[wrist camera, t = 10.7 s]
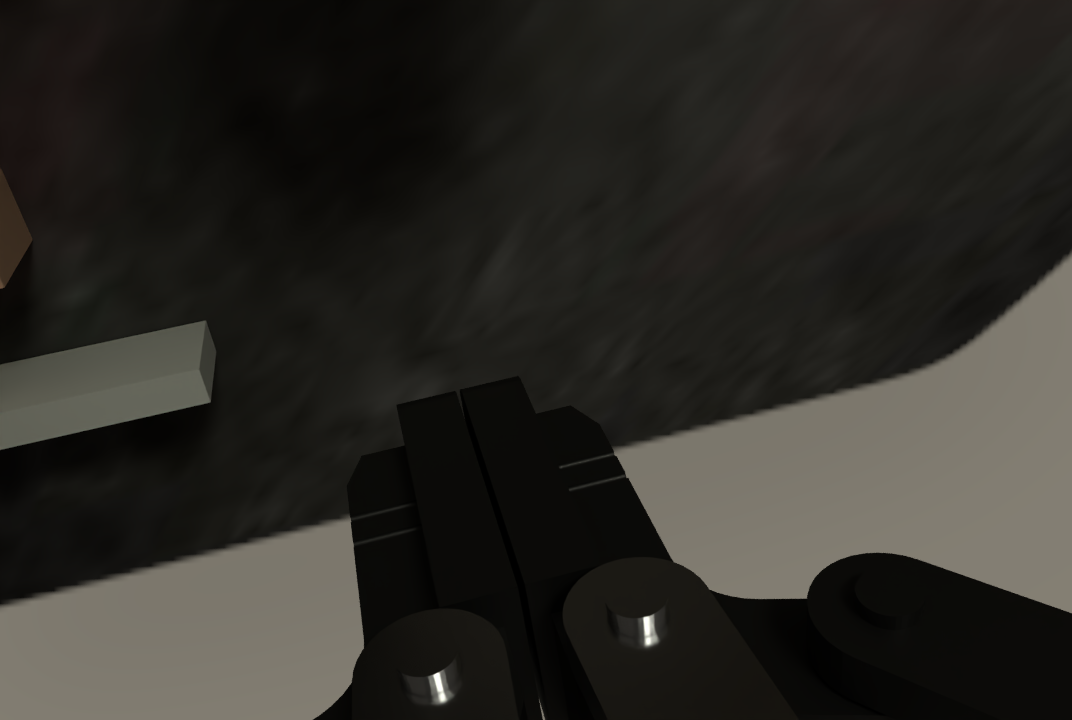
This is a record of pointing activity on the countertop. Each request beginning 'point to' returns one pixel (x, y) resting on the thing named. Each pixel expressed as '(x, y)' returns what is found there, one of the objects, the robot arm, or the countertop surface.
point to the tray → (105, 384)
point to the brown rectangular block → (10, 233)
